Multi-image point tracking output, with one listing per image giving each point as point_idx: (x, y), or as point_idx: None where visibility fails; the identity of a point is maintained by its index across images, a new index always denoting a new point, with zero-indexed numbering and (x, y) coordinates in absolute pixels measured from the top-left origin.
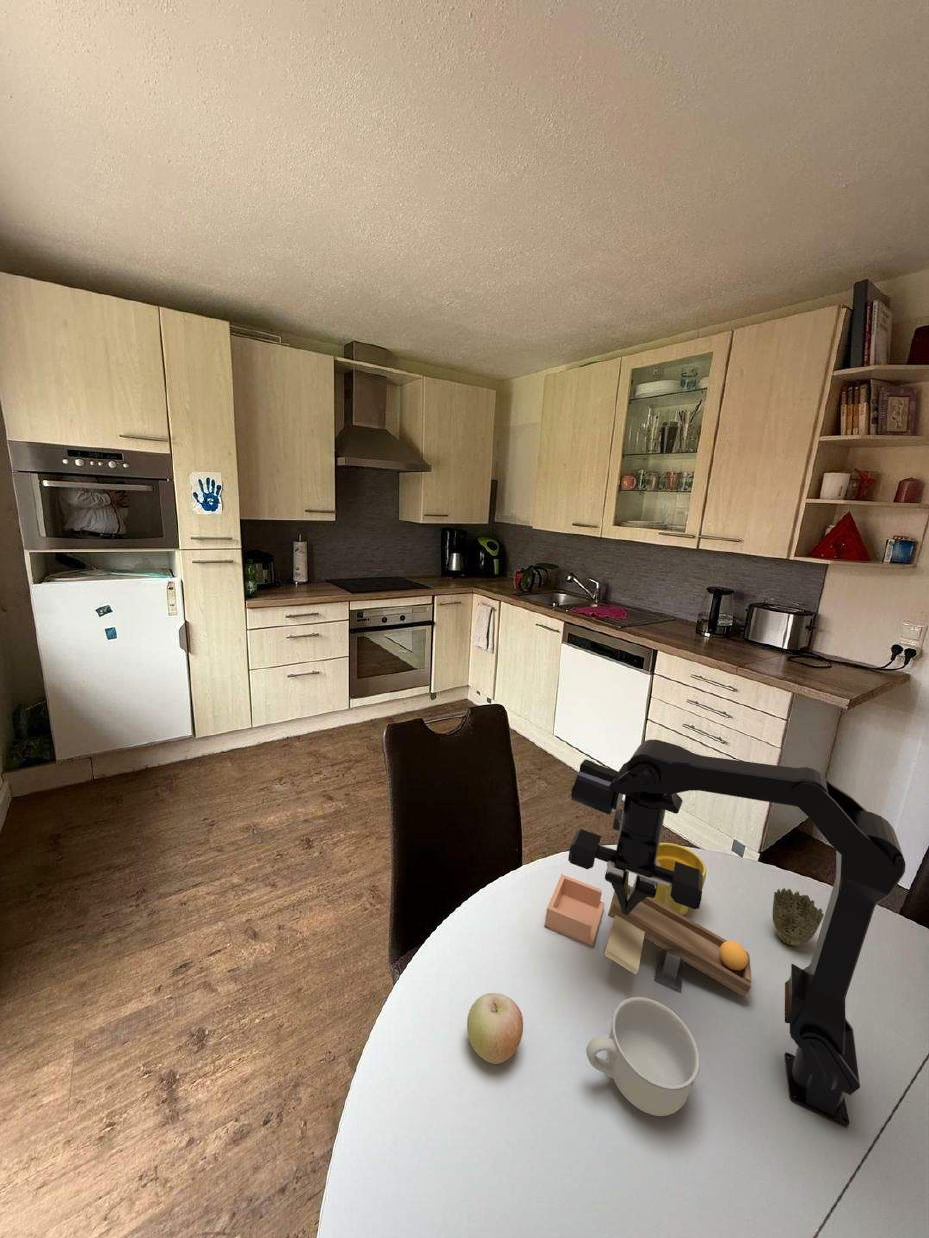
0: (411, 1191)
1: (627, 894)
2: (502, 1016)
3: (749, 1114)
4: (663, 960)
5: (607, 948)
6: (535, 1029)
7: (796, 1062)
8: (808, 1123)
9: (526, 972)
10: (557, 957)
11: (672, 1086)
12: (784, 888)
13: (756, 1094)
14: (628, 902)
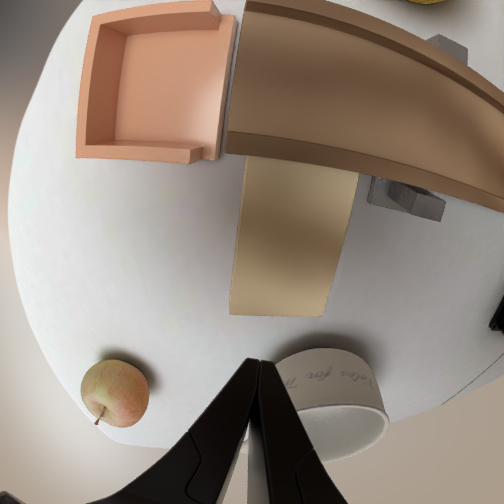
0: (136, 438)
1: (243, 432)
2: (114, 420)
3: (436, 358)
4: None
5: (231, 307)
6: (161, 349)
7: None
8: (489, 340)
9: (114, 270)
10: (150, 218)
11: (332, 460)
12: None
13: (457, 335)
14: (249, 471)
